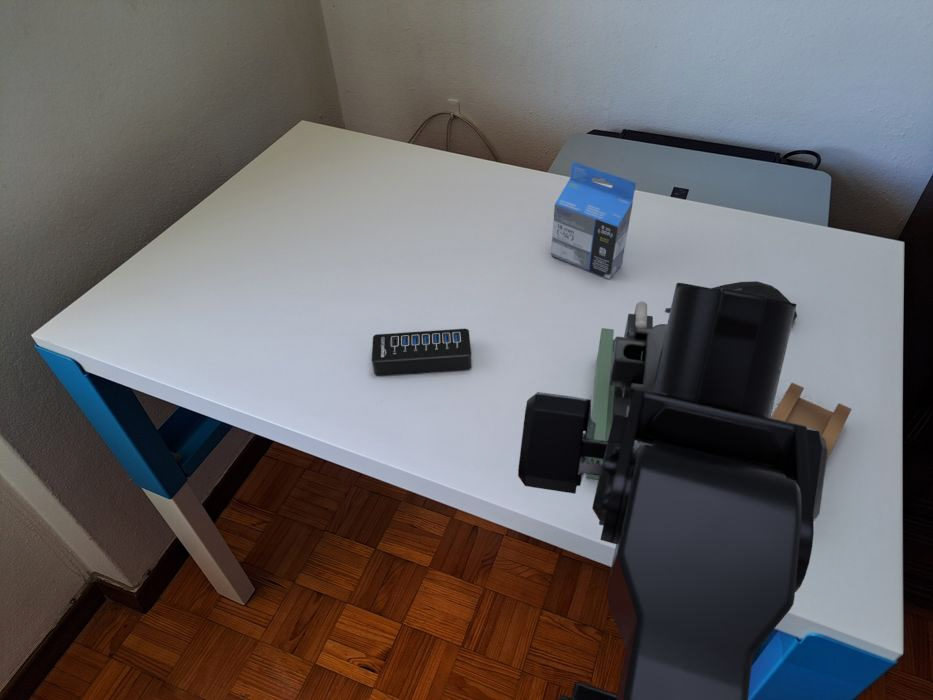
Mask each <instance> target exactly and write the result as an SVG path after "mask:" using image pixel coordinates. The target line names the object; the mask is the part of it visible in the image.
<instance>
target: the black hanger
mask: <svg viewBox="0 0 933 700" xmlns="http://www.w3.org/2000/svg"><path fill="white" fill-rule="evenodd" d="M637 327H640V328H649V329H651V328H652V327H654V317H653V315H648V304H647V302H646V301H643V300H641V301H638V302H637V303H636V305H635V308H634V313H628V314H627V319H626V325H625V330H624V335H623V337H629V331H630V329H636V328H637ZM631 400H632V399H624V398H623V389H622V388H621V387H618V386H615V390H614V405H613V418H614V414H616V415H621V416H625V417H626V411H627V405H628V406H630V404H631ZM612 422H613V420H612Z"/></svg>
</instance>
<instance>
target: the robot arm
mask: <svg viewBox="0 0 933 700" xmlns="http://www.w3.org/2000/svg"><path fill="white" fill-rule="evenodd" d="M712 288H713V287H706V286H700V285H695V284H689V283H684V282H677V283H676V284H675V289H674V293H673V298H672V301H671V305H670V308H671V310H670V311H669V315H668V320H667V323H660V324H656V325H655V326H654V325H653V327H652V328H651V329H649V328H640V327H637V328H636V329H630V331H629V337H624V336H615V338H614V339H613V340H614V344H613V350H612V359H611V369H610V378H609V384H610V385H611V386H618V387H621V388H622V389H623V398H624V399H632V400H631V404H630V406H628V405H627V411H626V417H625V416H621V415H616V414H614V418H613V422H612V426H611V430H610V434H609V439H608V441H602V440H595V439H594V435H595V427H596V423H594V422H593V421H592V420H591V416H592V400H591V399H587V398H583V397H577V396H572V395H571V396H570V395H564V394H557V393H548V392H540V391H537V392H536V393H535V394H533V395H532V396H530V398H528V399H527V400H526V404H525V410H524V418H523V428H522V435H521V442H520V443H521V444H520V451H519V452H520V453H519V460H518V469H517V477H518V478H519V480H520V481H521V482H522V484H523V485H524V487H528V488H535V489H542V490H546V491H548V490H549V491H556V492H561V493H568V494H575V495H576V494H577V487H580V486H581V485H582V482H583V478H584V476H585V475H586V474H590V475H597V476H599V479H598V481H597V485H596V490H595V493H594V497H593V503H592V508H591V509H592V511H593V513H594V514H595V516H596V517H597V519H598V520H599V521H598V522H599V523H598V525H600V526H602V530H601V535H600V541H603V542H606V543H610V544H613V545H615V548H614V551H613V552H614V553H613V558H612V563H611V567H610V572H609V578H608V582H607V587H606V593H605V594H606V595H605V597H606V601H607V604H608V606H609V610H610V611H611V612H610V613H611V615H612V617H613V621H614V622H615V626H616V628H617V630H618V631H617V632H618V633H619V636H620V639H621V640H622V644H623V646H624V656H623V662H622V667H621V674H620V679H619V686H618V691H617V693H615V692H612V691H610V690H606V689H604V688H600V687H597V686H594V685H592V684H588V683H585V682H582V681H579V680H578V681H576V682H574V683H573V688H572V693H571V697H569V696H567V695H563V694H560V695H559V698H556V699H555V700H749V693H750V684H751V675H752V666H753V656H754V655H755V653H756V651H757V650H758V649H759V648H760V647H761V645H763V643H764V642H765V641H766V639H767V638H768V637H769V636H770V634H771V633H772V632H773V631H774V630H775V629H776V627H777V626H778V625H779V624H780V623H781V621H782V620H783V619H784V618H785V617H786V615H787V614H788V613H789V612H790V611H791V609H792V608H793V605H794V603H795V596H796V593H797V592H798V590H799V589H800V588H801V586H802V585H803V582H804V580H805V578H806V575H807V572H808V568H809V565H810V561H811V556H812V551H813V543H814V534H815V533H814V530H815V529H814V522H815V521H816V520H817V518H818V517H819V515H820V512H821V505H822V498H823V497H822V496H823V489H824V481H825V474H826V467H827V460H828V458H827V453H828V450H827V445H826V440H825V439H824V438H823V436H822V435H821V434H820V432H819V431H817V430H815V429H812V428H809V427H806V426H804V425H799V424H795V423H790V422H786V421H781V420H777V419H772V418H771V417H772V414H773V408H774V404H775V400H776V395H777V392H778V386H779V383H780V378H781V374H782V369H783V366H784V361H785V356H786V352H787V348H788V343H789V340H790V335H791V331H792V330H791V329H792V327H793V323H794V322H793V318H794V314H795V310H796V309H797V303H794V302H791V303H789V302H784V301H778V300H773V299H768V298H766V295H761V294H755V293H750V292H744V291H738V290H733V289H727V288H722V289H721V290H720V289H712ZM792 322H793V323H792ZM590 457H593V458H599V459H604V460H603V462H602V464H600V461H599V460H597V461H596V463H594V461H593V459H591V461H590V462H588V461H589V458H590Z"/></svg>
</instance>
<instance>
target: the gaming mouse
mask: <svg viewBox="0 0 933 700" xmlns="http://www.w3.org/2000/svg"><path fill="white" fill-rule="evenodd" d="M711 288H712V289H720V290H721V289H722V288H727V289H733V290H738V291H744V292H750V293H755V294H761V295H766V298H768V299H773V300H778V301H784V302H789V303H792V302H791V301H790V300H789V298H787V297H786V296H785V295H784V294H783V293H782V292H781V291H780V290H779V289H778V288H776V287H774V286H773V285H771V284H769V283H765V282H762V281H761V282H760V281H759V280H756V281H738V282H733V283H728V284H727V283H726V284H722V285H718V286H715V287H711ZM670 310H671V307H666V308H665V312H670ZM797 318H798V313H797V311H796V309H795V314H794V318H793V322H792V324H794V322H795V320H796V319H797Z"/></svg>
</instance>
